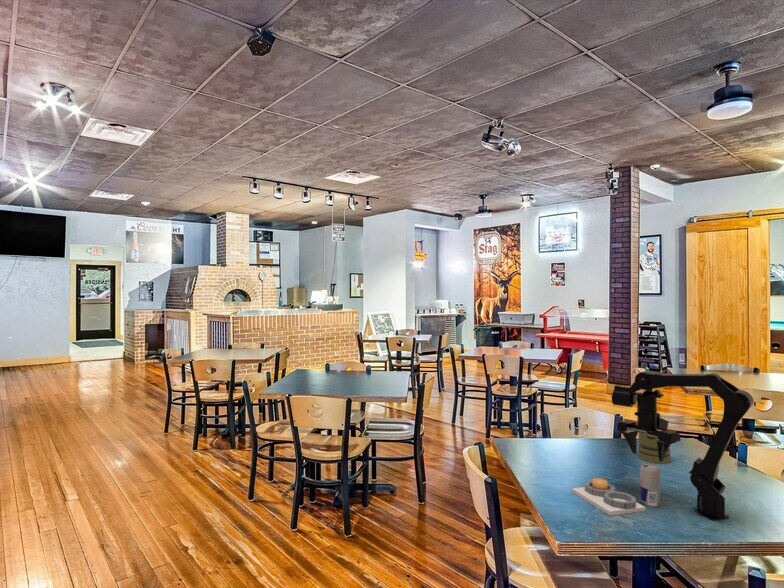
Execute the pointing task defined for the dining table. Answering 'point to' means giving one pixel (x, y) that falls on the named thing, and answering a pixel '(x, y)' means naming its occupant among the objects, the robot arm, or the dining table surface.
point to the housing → (607, 497)
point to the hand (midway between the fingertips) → (647, 457)
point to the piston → (651, 449)
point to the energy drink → (649, 485)
